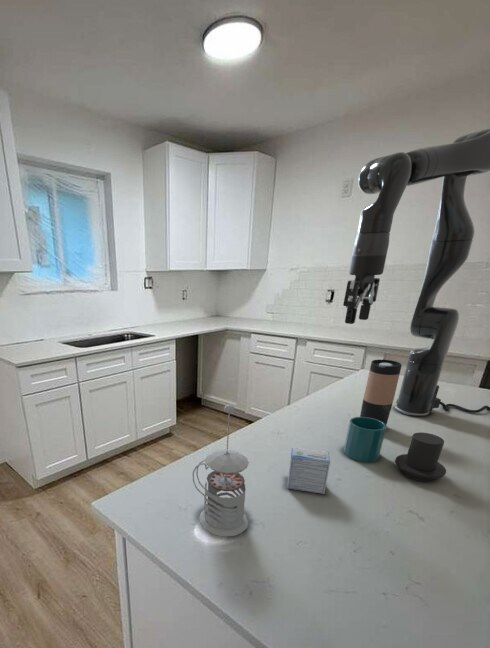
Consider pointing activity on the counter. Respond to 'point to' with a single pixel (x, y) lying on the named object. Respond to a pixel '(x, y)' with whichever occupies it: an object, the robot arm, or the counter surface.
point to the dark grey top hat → (422, 457)
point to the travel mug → (380, 389)
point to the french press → (224, 512)
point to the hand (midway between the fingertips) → (356, 321)
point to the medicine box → (308, 470)
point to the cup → (364, 439)
